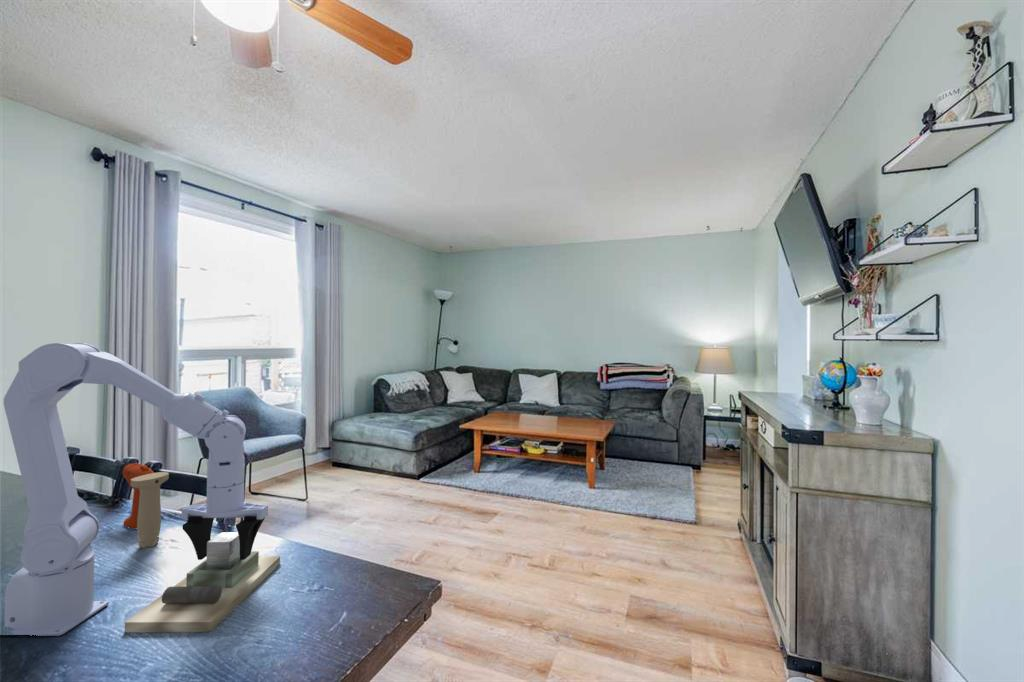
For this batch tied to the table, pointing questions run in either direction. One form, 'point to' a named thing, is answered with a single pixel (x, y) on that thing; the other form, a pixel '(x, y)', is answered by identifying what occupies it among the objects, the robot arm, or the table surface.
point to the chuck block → (203, 597)
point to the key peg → (223, 551)
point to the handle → (149, 507)
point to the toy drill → (129, 473)
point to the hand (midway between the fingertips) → (224, 557)
